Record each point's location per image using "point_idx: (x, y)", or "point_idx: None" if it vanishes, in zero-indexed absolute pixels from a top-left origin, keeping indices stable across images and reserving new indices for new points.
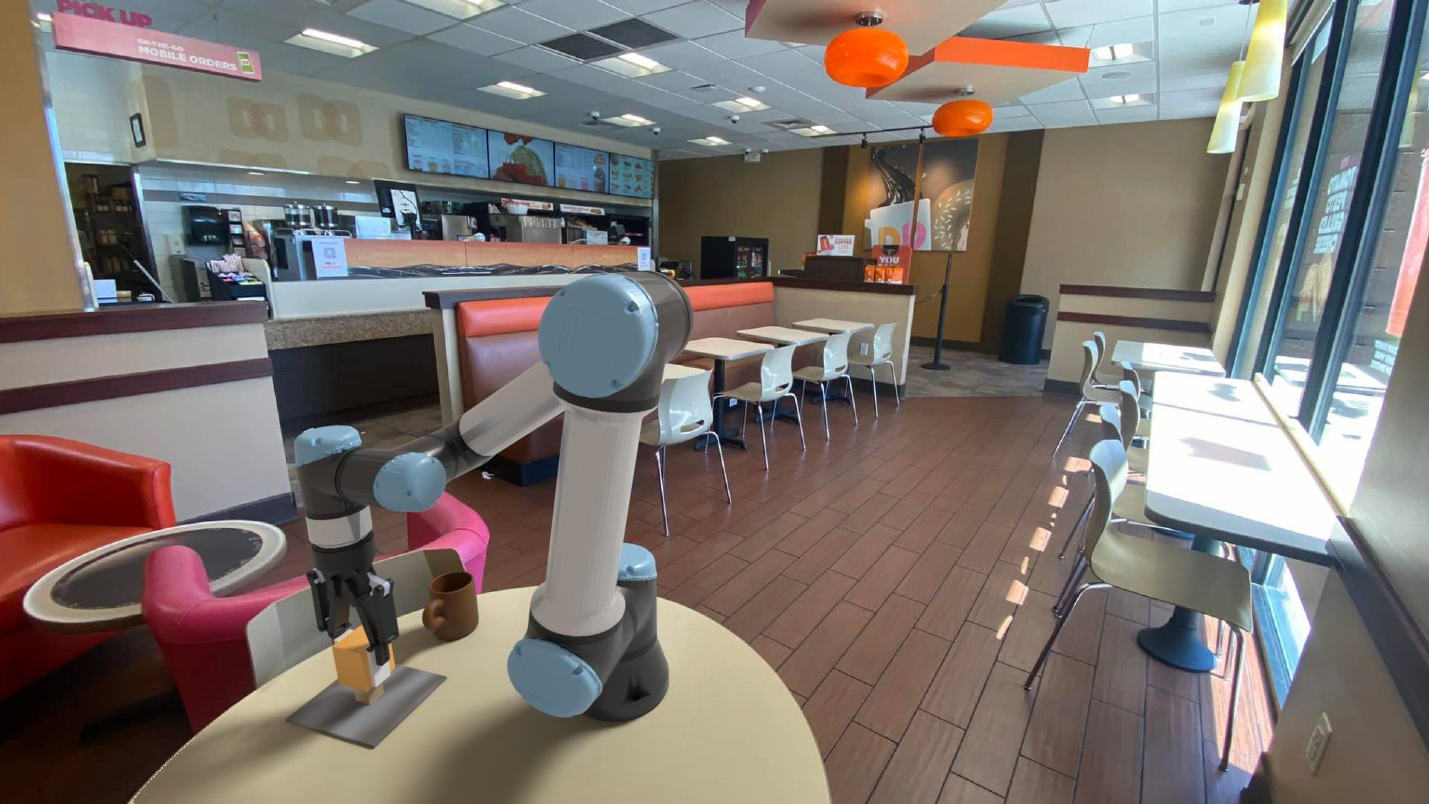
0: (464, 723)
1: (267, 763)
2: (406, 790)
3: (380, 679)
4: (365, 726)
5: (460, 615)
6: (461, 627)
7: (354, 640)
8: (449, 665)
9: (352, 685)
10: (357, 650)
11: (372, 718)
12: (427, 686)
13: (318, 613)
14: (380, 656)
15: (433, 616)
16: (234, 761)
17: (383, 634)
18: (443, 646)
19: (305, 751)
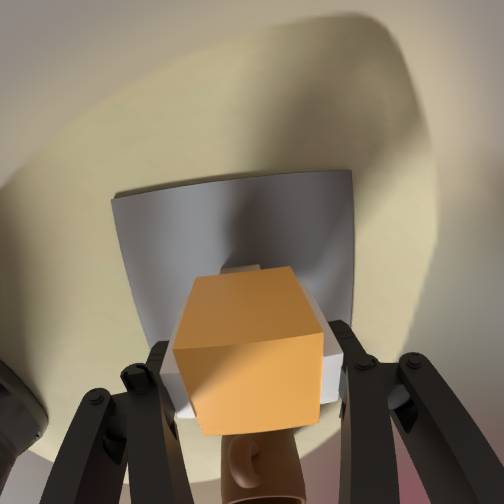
0: (50, 302)
1: (274, 83)
2: (16, 174)
3: None
4: (170, 224)
5: (225, 462)
6: (225, 442)
7: (269, 382)
8: None
9: (243, 275)
10: (200, 357)
11: (177, 245)
12: None
13: (447, 412)
14: (149, 363)
15: (273, 449)
16: (337, 70)
17: (72, 429)
18: None
19: (232, 130)
